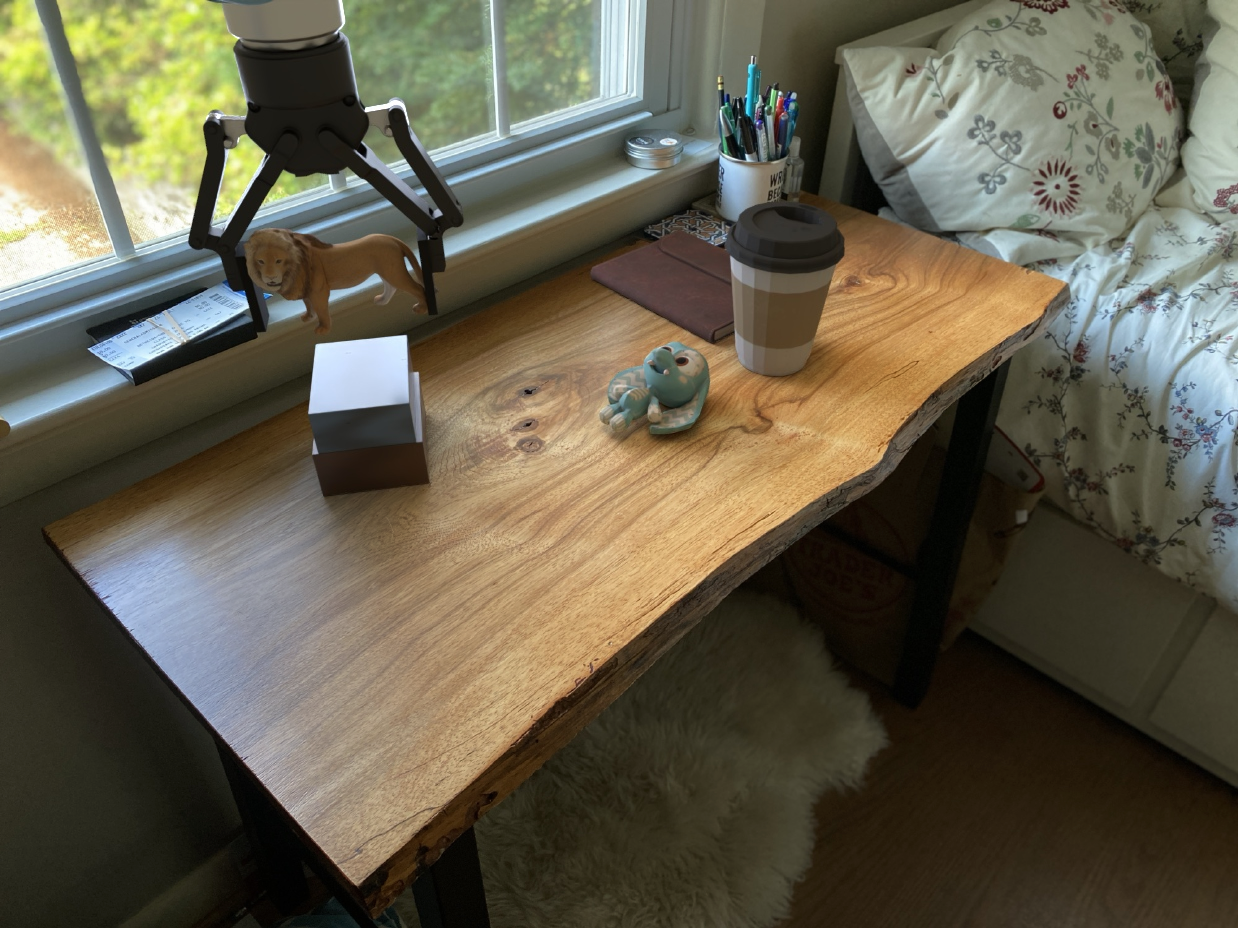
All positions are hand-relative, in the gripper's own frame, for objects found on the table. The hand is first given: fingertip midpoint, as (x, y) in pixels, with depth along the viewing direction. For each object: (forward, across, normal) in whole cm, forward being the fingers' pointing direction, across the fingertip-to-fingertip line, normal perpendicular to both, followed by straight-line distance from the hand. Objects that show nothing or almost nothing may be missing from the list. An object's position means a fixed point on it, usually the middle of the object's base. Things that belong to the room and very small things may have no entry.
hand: (349, 316), depth 76 cm
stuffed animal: (+14, -26, -1) cm, 30 cm away
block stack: (+14, 0, 0) cm, 14 cm away
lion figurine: (+1, 0, 0) cm, 1 cm away
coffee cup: (+14, -40, -8) cm, 43 cm away
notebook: (+14, -36, -24) cm, 46 cm away
